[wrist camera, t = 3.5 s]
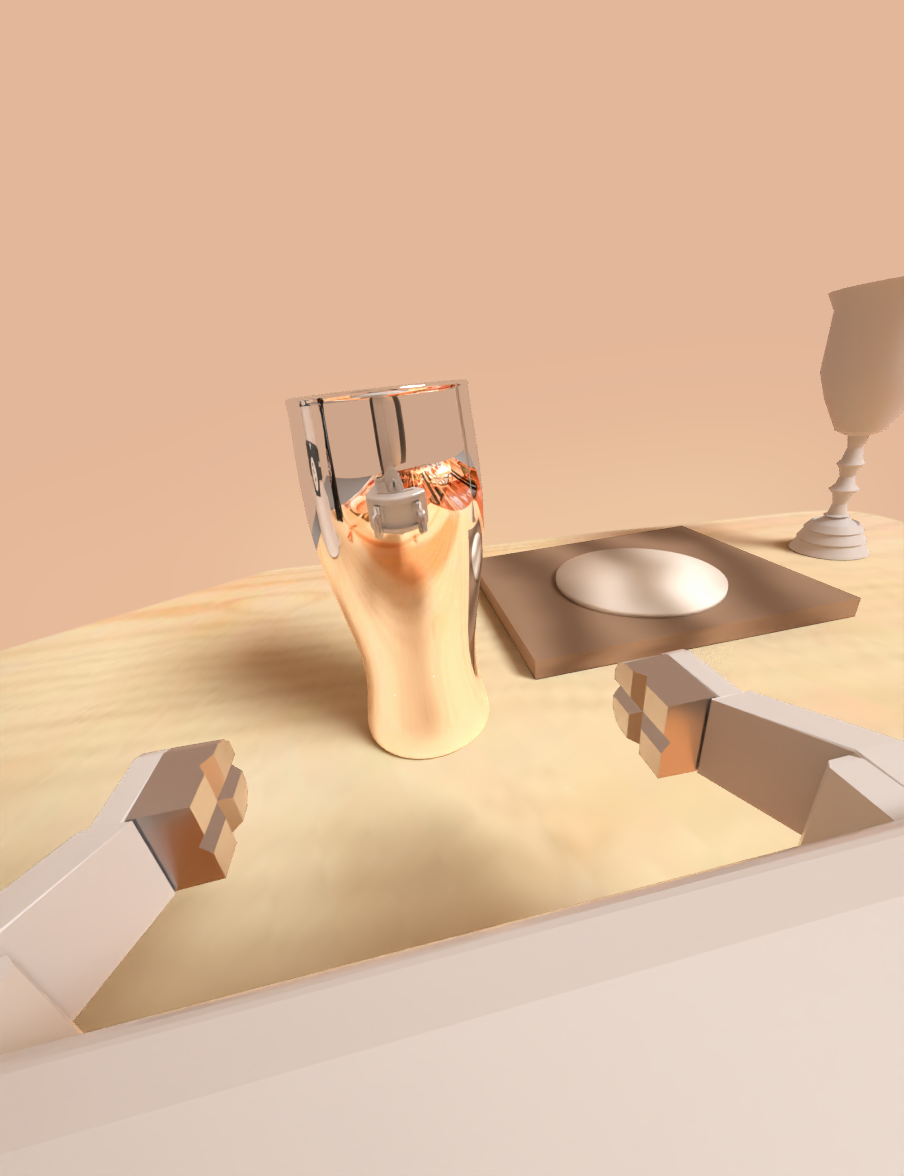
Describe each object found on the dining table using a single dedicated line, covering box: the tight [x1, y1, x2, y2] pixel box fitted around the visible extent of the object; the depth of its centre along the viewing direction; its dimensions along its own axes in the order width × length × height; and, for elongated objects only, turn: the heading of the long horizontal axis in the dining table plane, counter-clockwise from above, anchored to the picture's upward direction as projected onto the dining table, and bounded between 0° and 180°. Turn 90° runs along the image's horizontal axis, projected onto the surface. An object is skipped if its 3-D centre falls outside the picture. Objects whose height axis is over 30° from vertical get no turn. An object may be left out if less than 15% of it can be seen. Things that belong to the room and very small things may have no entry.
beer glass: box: [285, 380, 489, 759], centre depth 19 cm, size 7×7×15 cm
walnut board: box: [480, 526, 861, 679], centre depth 31 cm, size 20×16×2 cm
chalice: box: [788, 277, 904, 560], centre depth 31 cm, size 7×7×18 cm
